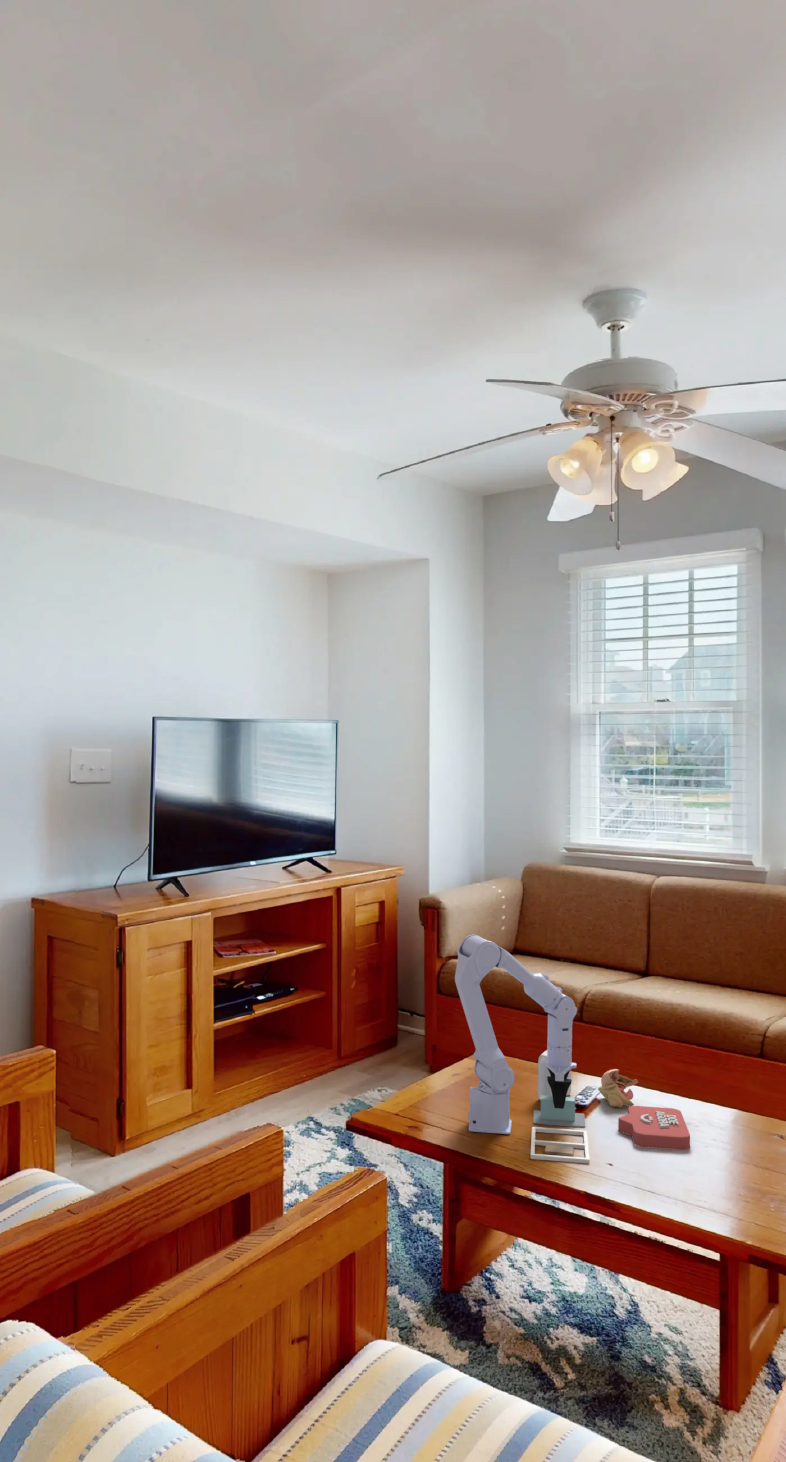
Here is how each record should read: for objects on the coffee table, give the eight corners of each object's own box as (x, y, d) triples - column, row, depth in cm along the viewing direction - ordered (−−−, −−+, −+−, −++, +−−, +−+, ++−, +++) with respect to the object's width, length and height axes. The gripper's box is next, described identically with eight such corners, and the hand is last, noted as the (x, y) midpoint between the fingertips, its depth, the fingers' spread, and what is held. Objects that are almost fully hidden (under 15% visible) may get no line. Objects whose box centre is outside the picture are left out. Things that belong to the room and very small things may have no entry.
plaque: (615, 1101, 230) (679, 1106, 228) (615, 1117, 230) (679, 1122, 228) (621, 1130, 213) (691, 1135, 210) (621, 1147, 213) (691, 1153, 210)
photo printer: (559, 1090, 248) (559, 1042, 248) (573, 1094, 244) (573, 1045, 245) (535, 1099, 240) (535, 1050, 241) (549, 1104, 237) (549, 1054, 238)
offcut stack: (545, 1158, 207) (545, 1151, 207) (546, 1151, 210) (546, 1144, 210) (573, 1160, 205) (573, 1153, 205) (574, 1154, 209) (574, 1147, 209)
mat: (533, 1123, 224) (533, 1122, 224) (533, 1111, 232) (533, 1110, 232) (585, 1127, 223) (585, 1126, 223) (584, 1115, 230) (584, 1113, 230)
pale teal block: (540, 1118, 227) (540, 1099, 227) (540, 1114, 229) (540, 1095, 229) (574, 1121, 226) (575, 1101, 226) (574, 1117, 228) (574, 1097, 228)
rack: (530, 1158, 205) (530, 1155, 205) (532, 1130, 221) (532, 1126, 221) (589, 1163, 203) (589, 1159, 203) (586, 1134, 219) (586, 1130, 219)
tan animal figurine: (633, 1116, 232) (605, 1087, 232) (608, 1123, 239) (580, 1096, 239) (647, 1087, 238) (620, 1059, 238) (622, 1095, 245) (595, 1068, 245)
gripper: (577, 1054, 220) (576, 1114, 220) (575, 1036, 234) (575, 1093, 234) (546, 1052, 221) (545, 1112, 221) (546, 1035, 236) (546, 1090, 235)
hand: (558, 1102), depth 228 cm, fingers open, 7 cm apart
